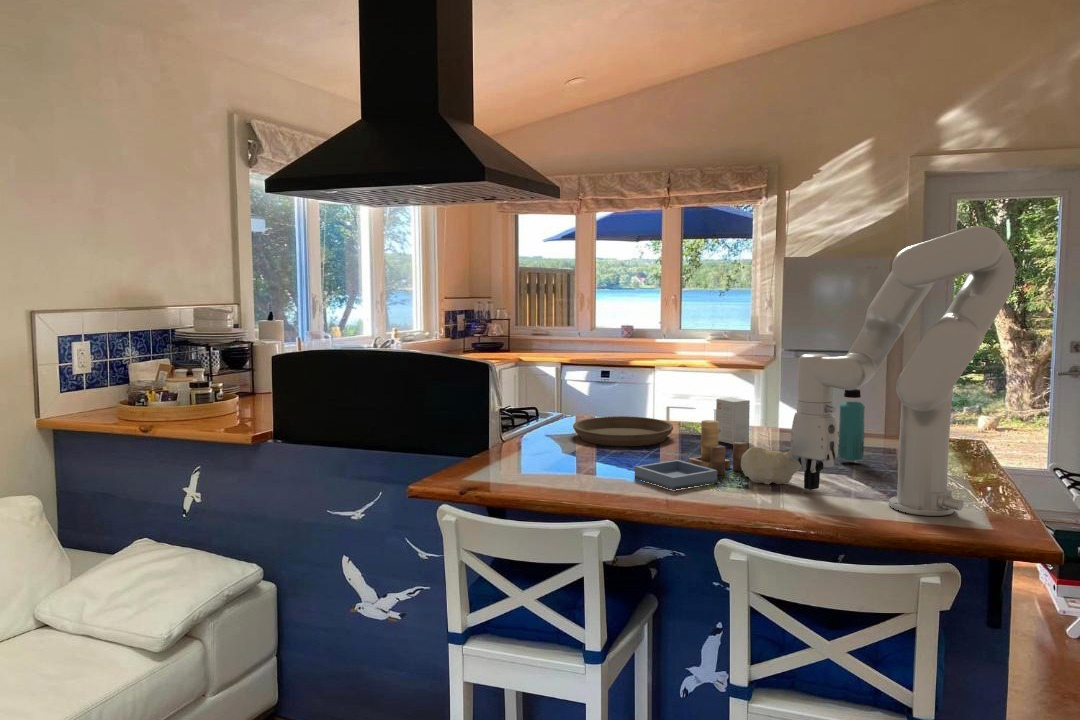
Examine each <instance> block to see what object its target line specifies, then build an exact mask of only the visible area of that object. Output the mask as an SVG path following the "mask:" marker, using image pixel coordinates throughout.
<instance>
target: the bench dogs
mask: <svg viewBox="0 0 1080 720" xmlns="http://www.w3.org/2000/svg"><path fill="white" fill-rule="evenodd" d="M748 445H749V443H745V442H734V443H733V444H732V446H733V447H732V450H733V452H732V455H733V456H732V471H734V470H735V471H734V472H737V471H742V468H741V458H742V456H743V454H744V453H745V452H746V451H747V450H748V449H749V446H748ZM725 459H726V446H725V445H719V444H718V445H713V446H711V455H710V469H714V470H718V473H717V475H723V476H725V475H724V474H726V472H725V471H726V469H725Z"/></svg>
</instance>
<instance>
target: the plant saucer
mask: <svg viewBox="0 0 1080 720" xmlns="http://www.w3.org/2000/svg"><path fill="white" fill-rule="evenodd" d="M572 427H573V430H574V431H575V433H576V434H577V435H578V436H579V437H580V439H581V440H582V441H584V442H587V443H591V444H595V445H603V446H612V447H613V446H614V447H644V446H651V444H652V445H657V444H661V443H662V442H665V440H667V437H668V436H669V435H670V434H672V431H673V430H674V426H673V424H672V423H671V422H669V421H665V420H661V419H658V418H657V419H656V418H651V417H644V416H643V417H642V416H630V415H628V416H627V415H626V416H625V415H622V416H619V415H618V416H617V415H615V416H613V415H612V416H599V417H590V418H586V419H585V418H584V419H581V420H578V421H576V422H574V423H573V426H572ZM643 445H644V446H643Z"/></svg>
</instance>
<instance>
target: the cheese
mask: <svg viewBox="0 0 1080 720" xmlns="http://www.w3.org/2000/svg"><path fill="white" fill-rule="evenodd" d="M787 450H789V451H786V452H782V451H778V450H776V451H775V450H770V449H766V448H763V447H759V446H758V447H757V446H752V447H750V448H749V447H748V450H747V451H746V452H745V453H744V454H743V456H742V458H741V468H742V471H743V472H742V473H743V474H744V476H745V477H748V478H749V479H750V481H752V482H753V483H757V484H761V483H762V484H764V485H766V484H768V485H767V486H770V485H769V484H771V483H774V484H775V485H783V484H787V483H788V484H789V483H790V481H791V480H792V479H793V476H794V475H795V474H796V473H797V472H798V470H800V469H802V466H801V464H800V463H799V461H797V460H795V459H793V458H792V452H791V447H787Z"/></svg>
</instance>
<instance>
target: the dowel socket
mask: <svg viewBox="0 0 1080 720" xmlns="http://www.w3.org/2000/svg"><path fill="white" fill-rule="evenodd" d="M688 463H692V464H695V465H699V466H703V467H707V468H710V463H709V462H705V461H701V456H696V457H689V458H688ZM725 468H727V469H731V460H730V459H726V458H725Z"/></svg>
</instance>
